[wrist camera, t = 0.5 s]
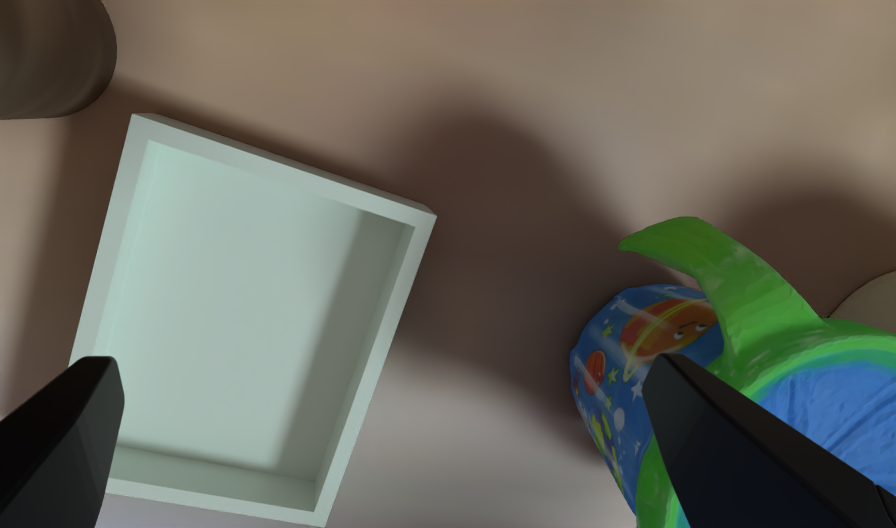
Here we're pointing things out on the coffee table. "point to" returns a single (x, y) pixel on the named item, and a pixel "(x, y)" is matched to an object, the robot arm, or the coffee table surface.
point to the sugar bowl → (872, 304)
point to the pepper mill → (53, 56)
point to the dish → (243, 319)
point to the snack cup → (730, 362)
